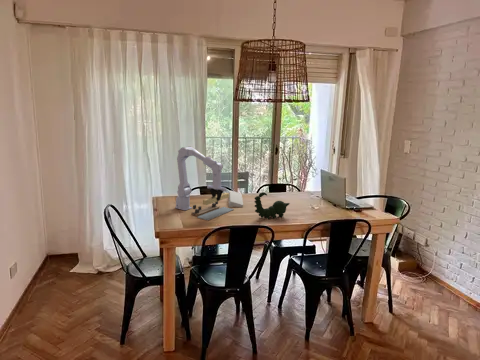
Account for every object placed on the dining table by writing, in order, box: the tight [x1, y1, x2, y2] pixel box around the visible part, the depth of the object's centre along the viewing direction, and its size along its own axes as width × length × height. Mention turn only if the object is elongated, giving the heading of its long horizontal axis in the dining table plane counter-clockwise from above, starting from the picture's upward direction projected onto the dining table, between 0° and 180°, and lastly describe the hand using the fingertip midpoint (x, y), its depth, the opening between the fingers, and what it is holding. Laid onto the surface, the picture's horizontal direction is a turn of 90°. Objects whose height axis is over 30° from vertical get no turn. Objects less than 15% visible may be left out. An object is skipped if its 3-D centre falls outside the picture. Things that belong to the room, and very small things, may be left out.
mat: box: [196, 206, 235, 221], centre depth 243 cm, size 9×30×1 cm, turn 147°
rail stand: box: [191, 201, 220, 217], centre depth 247 cm, size 6×24×6 cm, turn 147°
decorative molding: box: [228, 190, 244, 208], centre depth 277 cm, size 34×5×10 cm
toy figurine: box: [254, 191, 290, 220], centre depth 238 cm, size 9×19×25 cm
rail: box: [202, 192, 229, 206], centre depth 241 cm, size 3×26×3 cm, turn 148°
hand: (216, 200), depth 241 cm, fingers closed on rail, 3 cm apart
